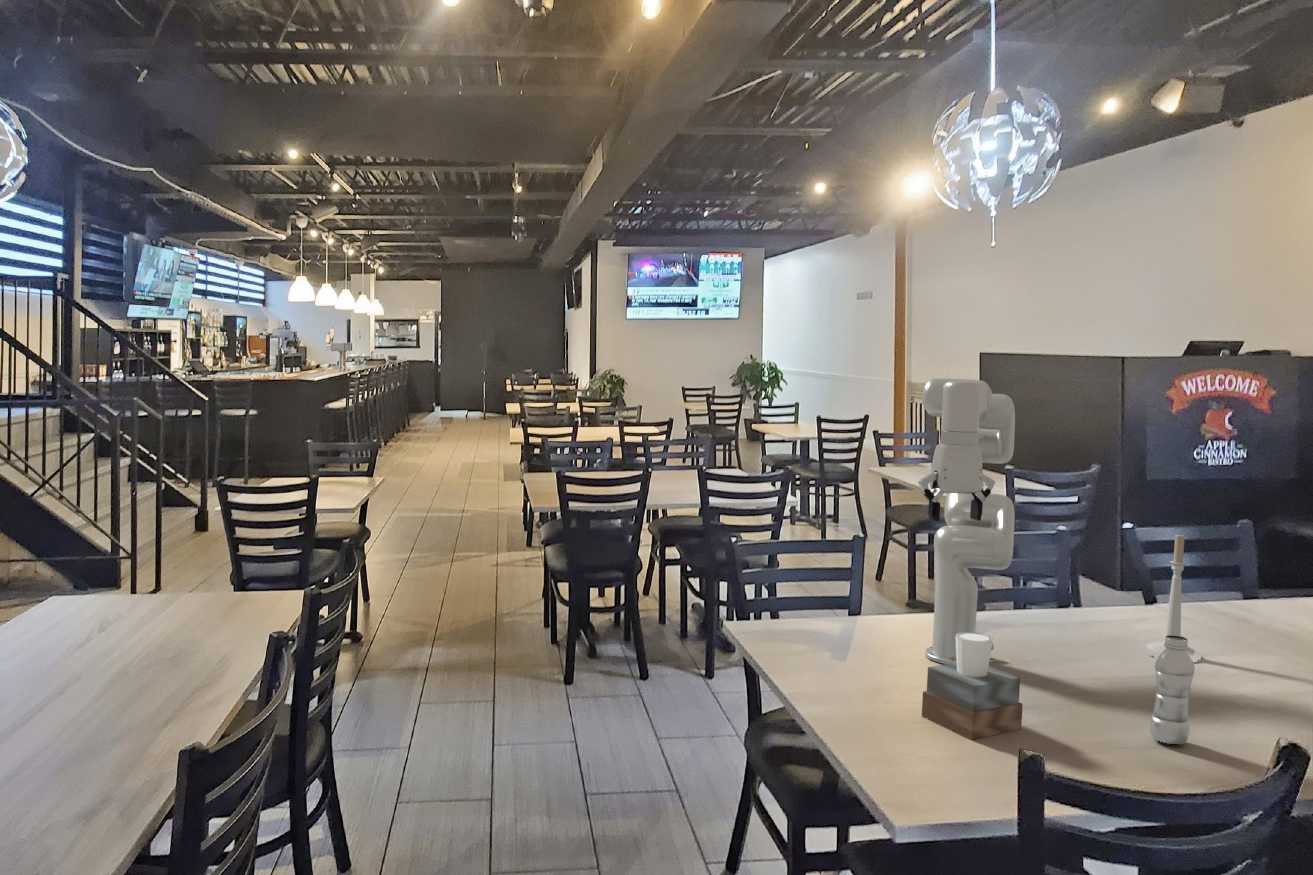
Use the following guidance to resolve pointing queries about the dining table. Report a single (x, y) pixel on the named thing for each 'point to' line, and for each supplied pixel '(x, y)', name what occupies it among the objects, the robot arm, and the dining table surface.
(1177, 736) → the plastic bottle
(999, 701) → the grey and wood block
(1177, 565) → the candlestick
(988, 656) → the white grey-rimmed cylinder
